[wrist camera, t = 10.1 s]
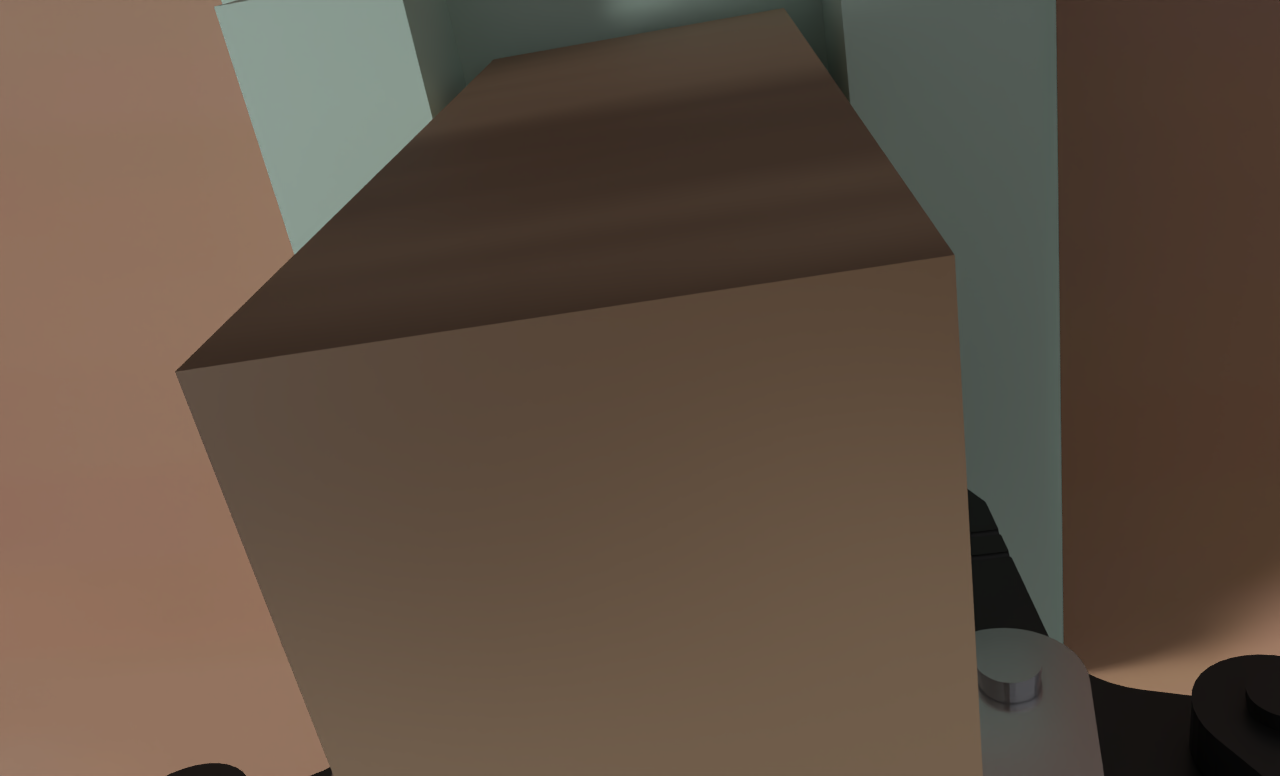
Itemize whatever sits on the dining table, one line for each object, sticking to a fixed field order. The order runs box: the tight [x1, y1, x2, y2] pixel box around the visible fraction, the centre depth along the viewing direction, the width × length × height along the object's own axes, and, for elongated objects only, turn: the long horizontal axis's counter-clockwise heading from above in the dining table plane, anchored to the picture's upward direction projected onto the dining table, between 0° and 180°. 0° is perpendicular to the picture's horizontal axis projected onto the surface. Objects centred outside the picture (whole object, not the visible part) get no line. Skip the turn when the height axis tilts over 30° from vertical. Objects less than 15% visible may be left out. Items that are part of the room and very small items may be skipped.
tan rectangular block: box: [175, 8, 983, 776], centre depth 11 cm, size 12×4×9 cm, turn 10°
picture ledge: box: [214, 0, 1063, 644], centre depth 16 cm, size 14×10×4 cm
